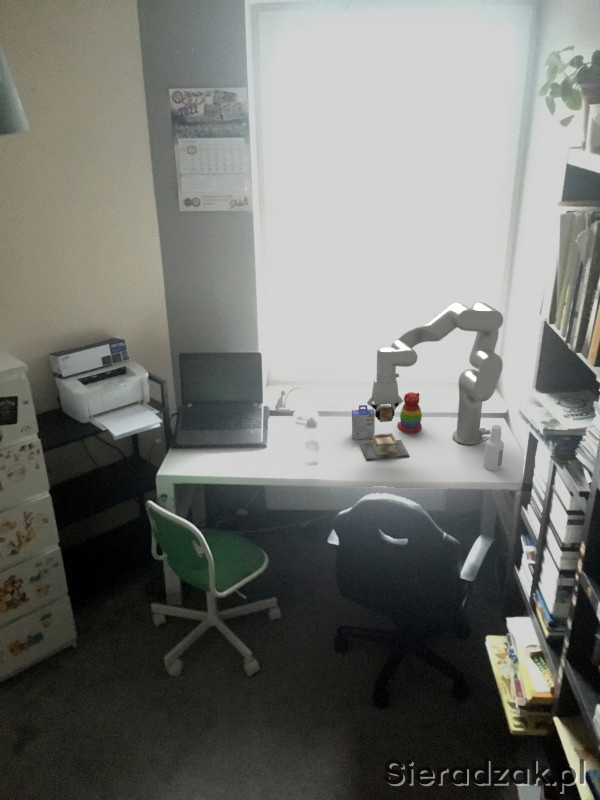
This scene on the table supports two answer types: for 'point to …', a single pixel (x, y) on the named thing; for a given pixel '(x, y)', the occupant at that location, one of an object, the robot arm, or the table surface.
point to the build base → (387, 456)
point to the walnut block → (385, 413)
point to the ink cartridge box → (363, 423)
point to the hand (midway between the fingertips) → (384, 417)
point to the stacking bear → (410, 414)
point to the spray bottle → (494, 450)
